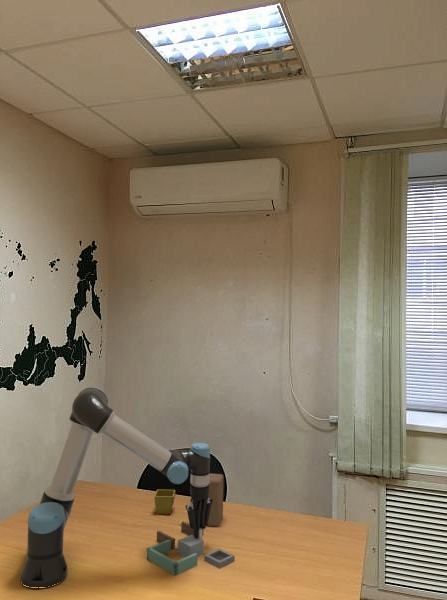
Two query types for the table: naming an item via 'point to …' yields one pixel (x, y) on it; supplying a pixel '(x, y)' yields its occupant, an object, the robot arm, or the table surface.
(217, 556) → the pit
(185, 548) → the block
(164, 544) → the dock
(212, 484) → the wooden block
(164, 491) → the flower pot
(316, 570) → the table surface
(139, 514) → the table surface
